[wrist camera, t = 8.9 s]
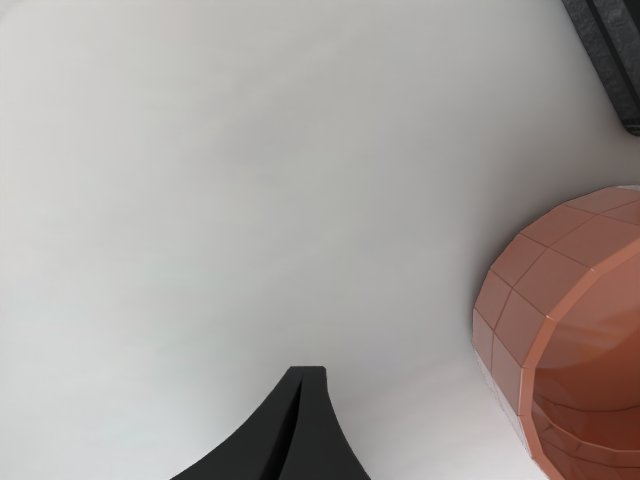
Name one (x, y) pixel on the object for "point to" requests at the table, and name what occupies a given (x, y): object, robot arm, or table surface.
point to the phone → (613, 50)
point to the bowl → (569, 336)
